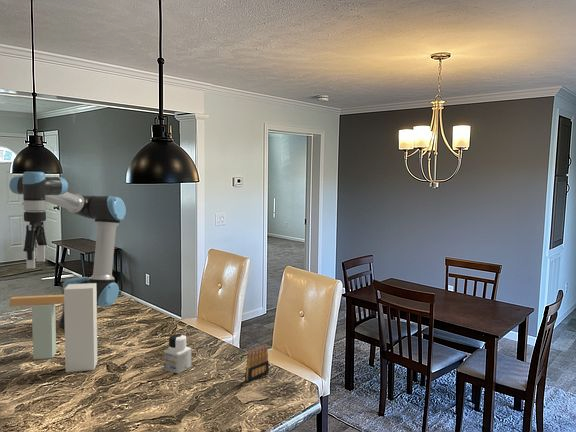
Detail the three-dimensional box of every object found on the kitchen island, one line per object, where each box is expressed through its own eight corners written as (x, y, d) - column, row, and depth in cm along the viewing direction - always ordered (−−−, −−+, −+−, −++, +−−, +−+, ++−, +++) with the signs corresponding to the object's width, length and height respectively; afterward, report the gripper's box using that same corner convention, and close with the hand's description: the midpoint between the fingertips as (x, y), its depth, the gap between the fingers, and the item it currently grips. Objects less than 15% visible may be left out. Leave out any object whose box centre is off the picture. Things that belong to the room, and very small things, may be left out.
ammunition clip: (248, 382, 160) (248, 350, 159) (244, 380, 161) (245, 349, 160) (268, 373, 168) (269, 343, 167) (265, 371, 169) (266, 341, 168)
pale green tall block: (37, 353, 180) (36, 301, 178) (56, 352, 182) (55, 301, 180) (33, 359, 175) (31, 306, 173) (52, 358, 176) (51, 305, 175)
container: (163, 369, 168) (163, 337, 167) (176, 362, 175) (176, 331, 174) (178, 374, 165) (178, 340, 164) (191, 366, 172) (191, 334, 171)
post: (70, 363, 172) (68, 284, 169) (97, 361, 174) (96, 283, 172) (65, 372, 164) (63, 289, 161) (94, 369, 167) (92, 288, 164)
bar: (12, 304, 175) (12, 296, 175) (69, 301, 180) (69, 294, 180) (10, 306, 172) (9, 298, 172) (68, 303, 178) (68, 296, 177)
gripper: (33, 208, 181) (35, 258, 183) (12, 213, 157) (14, 271, 159) (53, 208, 183) (54, 258, 185) (36, 213, 159) (37, 270, 161)
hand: (36, 264), depth 172 cm, fingers open, 13 cm apart
